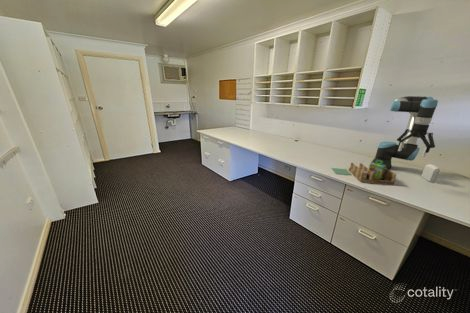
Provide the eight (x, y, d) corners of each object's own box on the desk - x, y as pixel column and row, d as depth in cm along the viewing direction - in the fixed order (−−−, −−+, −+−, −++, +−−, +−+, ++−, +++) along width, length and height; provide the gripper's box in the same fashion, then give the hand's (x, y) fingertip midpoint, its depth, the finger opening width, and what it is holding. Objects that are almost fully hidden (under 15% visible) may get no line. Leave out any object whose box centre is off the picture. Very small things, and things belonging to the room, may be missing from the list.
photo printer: (419, 176, 150) (425, 162, 146) (426, 177, 149) (431, 163, 145) (429, 182, 141) (435, 167, 137) (436, 183, 140) (442, 168, 136)
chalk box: (365, 177, 148) (370, 160, 143) (368, 174, 154) (373, 157, 149) (379, 181, 142) (385, 163, 137) (382, 177, 147) (387, 160, 142)
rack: (348, 170, 160) (350, 162, 157) (377, 172, 157) (380, 164, 154) (360, 182, 140) (362, 172, 137) (393, 184, 136) (397, 175, 134)
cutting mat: (331, 168, 164) (331, 168, 164) (345, 169, 162) (345, 169, 162) (336, 174, 153) (336, 173, 153) (351, 175, 151) (351, 174, 151)
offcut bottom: (356, 176, 150) (358, 172, 149) (361, 176, 149) (362, 172, 148) (361, 180, 143) (362, 176, 142) (365, 180, 143) (366, 176, 142)
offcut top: (358, 172, 148) (359, 169, 147) (362, 173, 148) (363, 169, 147) (361, 175, 143) (362, 172, 142) (366, 176, 142) (367, 172, 141)
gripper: (396, 121, 131) (388, 149, 139) (444, 127, 110) (431, 160, 117) (402, 120, 134) (393, 148, 141) (450, 126, 112) (437, 158, 120)
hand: (410, 153), depth 129 cm, fingers open, 13 cm apart
